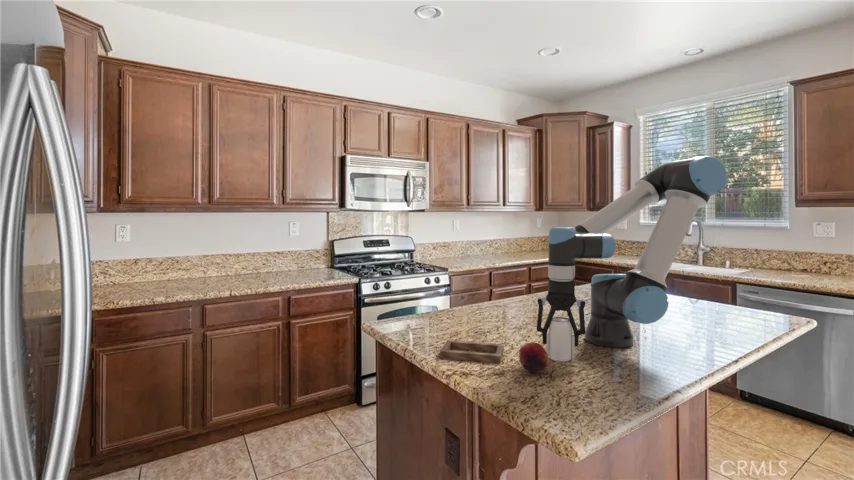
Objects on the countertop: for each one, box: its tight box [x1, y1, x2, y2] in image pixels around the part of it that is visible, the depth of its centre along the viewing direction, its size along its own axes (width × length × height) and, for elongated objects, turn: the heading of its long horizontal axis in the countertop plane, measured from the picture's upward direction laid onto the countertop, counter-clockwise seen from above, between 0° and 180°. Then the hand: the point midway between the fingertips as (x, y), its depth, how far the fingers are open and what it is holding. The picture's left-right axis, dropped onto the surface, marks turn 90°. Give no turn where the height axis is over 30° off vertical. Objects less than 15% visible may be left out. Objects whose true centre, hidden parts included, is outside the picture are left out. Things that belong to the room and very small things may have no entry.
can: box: [548, 316, 573, 363], centre depth 122 cm, size 6×6×12 cm
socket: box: [439, 340, 504, 364], centre depth 127 cm, size 18×11×2 cm, turn 75°
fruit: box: [518, 341, 549, 374], centre depth 112 cm, size 8×8×8 cm
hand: (560, 355), depth 123 cm, fingers closed on can, 6 cm apart
